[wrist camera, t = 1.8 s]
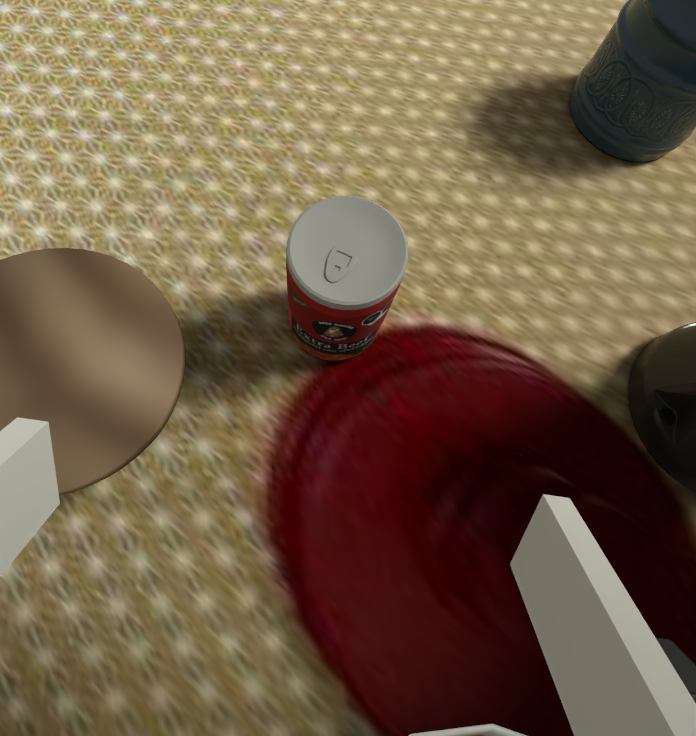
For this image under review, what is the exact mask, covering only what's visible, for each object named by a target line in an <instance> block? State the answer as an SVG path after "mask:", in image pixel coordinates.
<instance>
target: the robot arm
mask: <svg viewBox="0 0 696 736" xmlns="http://www.w3.org/2000/svg"><path fill="white" fill-rule="evenodd" d="M629 400H630V407H631V412H632V416H633V419H634V422H635V425H636V428H637V430H638V432H639V435H640V436H641V438H642V440H643V442H644V444H645V445H646V447H647V449H648V450H649V452H650V453H651V454H652V456H653V457H654V458H655V460H656V461H657V462H658V463H659V464H660V465H661V466H662V467H663V468H664V469H665V470H666V471H667V472H668V473H669V474H670V475H671V476H672V477H674V478H675V479H676V480H677V481H679V482H680V483H682V484H683V485H685V486H686V487H688V488H690V489H691V490H693V491H695V492H696V322H695V323H691V324H687V325H684V326H681V327H679V328H676V329H674V330H672V331H670V332H668V333H666V334H664V335H662V336H660V337H658V338H656V339H655V340H653V341H652V342H651V343H649V344H648V345H647V346H646V347H645V348H644V349H643V351H642V352H641V353H640V355H639V356H638V358H637V360H636V361H635V364H634V366H633V369H632V372H631V377H630V383H629ZM59 504H60V500H59V493H58V485H57V478H56V471H55V464H54V457H53V450H52V443H51V435H50V428H49V422H46V421H39V420H32V419H26V418H19V417H17V418H16V419H15V420H13V421H12V422H11V423H10V424H9V425H7V426H6V427H5V428H4V429H2V430H1V431H0V577H1V575H2V574H3V573H4V572H5V570H6V569H7V568H8V567H9V566H10V564H11V563H12V562H13V561H14V559H15V558H16V557H17V556H18V555H19V553H20V552H21V551H22V550H23V548H24V547H25V546H26V545H27V543H28V542H29V541H30V540H31V539H32V537H33V536H34V535H35V534H36V532H37V531H38V530H39V529H40V528H41V526H42V525H43V524H44V523H45V521H46V520H47V519H48V518H49V517H50V515H51V514H52V513H53V512H54V510H55V509H56V508H57V507H58V505H59ZM510 566H511V568H512V571H513V574H514V576H515V579H516V582H517V584H518V587H519V590H520V592H521V595H522V598H523V600H524V603H525V606H526V608H527V611H528V614H529V616H530V619H531V622H532V624H533V627H534V630H535V632H536V635H537V638H538V640H539V643H540V646H541V648H542V651H543V654H544V657H545V659H546V662H547V665H548V667H549V670H550V673H551V675H552V678H553V681H554V683H555V686H556V689H557V691H558V694H559V697H560V699H561V702H562V705H563V707H564V710H565V713H566V715H567V718H568V721H569V723H570V726H571V729H572V731H573V734H574V736H696V665H695V664H694V663H693V662H692V661H691V660H690V659H689V658H688V657H687V656H686V655H685V654H684V653H683V652H682V651H681V650H680V649H679V648H678V647H677V646H676V645H675V644H674V643H673V642H672V641H671V640H668V639H660V638H655V636H654V635H653V633H652V631H651V630H650V628H649V626H648V625H647V623H646V622H645V620H644V618H643V617H642V615H641V613H640V612H639V610H638V609H637V607H636V605H635V604H634V602H633V600H632V599H631V597H630V596H629V594H628V592H627V591H626V589H625V587H624V586H623V584H622V582H621V581H620V579H619V578H618V576H617V574H616V573H615V571H614V569H613V568H612V566H611V565H610V563H609V561H608V560H607V558H606V556H605V555H604V553H603V552H602V550H601V548H600V547H599V545H598V543H597V542H596V540H595V538H594V537H593V535H592V534H591V532H590V530H589V529H588V527H587V525H586V524H585V522H584V521H583V519H582V517H581V516H580V514H579V512H578V511H577V509H576V508H575V506H574V504H573V503H572V501H571V499H570V498H566V497H559V496H552V495H545V494H543V495H542V497H541V499H540V502H539V504H538V506H537V508H536V510H535V512H534V514H533V516H532V519H531V521H530V523H529V525H528V527H527V529H526V531H525V533H524V535H523V538H522V540H521V542H520V544H519V546H518V548H517V550H516V552H515V554H514V557H513V559H512V561H511V563H510Z"/></svg>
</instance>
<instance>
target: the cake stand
mask: <svg viewBox="0 0 696 736" xmlns="http://www.w3.org/2000/svg"><path fill="white" fill-rule="evenodd" d="M184 373H185V345H184V338H183V334H182V331H181V327H180V324H179V322H178V320H177V317H176V315H175V313H174V311H173V309H172V308H171V306H170V304H169V303H168V301H167V300H166V298H165V297H164V295H163V294H162V292H161V291H160V290H159V289H158V288H157V287H156V286H155V285H154V283H153V282H152V281H151V280H150V279H148V278H147V277H146V276H145V275H143V274H142V273H141V272H140V271H138V270H137V269H135V268H133V267H132V266H130V265H129V264H127V263H125V262H123V261H120V260H118V259H116V258H114V257H111V256H108V255H105V254H101V253H98V252H93V251H88V250H82V249H70V248H56V249H43V250H36V251H30V252H26V253H22V254H18V255H14V256H11V257H8V258H5V259H2V260H0V431H1V430H2V429H4V428H5V427H6V426H7V425H9V424H10V423H11V422H12V421H13V420H15V419H16V418H17V417H19V418H26V419H32V420H39V421H46V422H49V428H50V435H51V443H52V450H53V457H54V464H55V471H56V478H57V485H58V493H59V495H62V494H66V493H70V492H74V491H77V490H80V489H82V488H85V487H88V486H91V485H93V484H95V483H97V482H99V481H101V480H103V479H105V478H107V477H109V476H111V475H112V474H114V473H115V472H117V471H119V470H120V469H122V468H123V467H125V466H126V465H127V464H129V463H130V462H131V461H132V460H134V459H135V458H136V457H137V456H138V455H140V454H141V453H142V452H143V451H144V450H145V449H146V448H147V447H148V446H149V445H150V444H151V443H152V442H153V441H154V439H155V438H156V437H157V436H158V435H159V433H160V432H161V431H162V429H163V428H164V426H165V425H166V423H167V421H168V419H169V417H170V415H171V414H172V412H173V409H174V407H175V405H176V403H177V400H178V398H179V395H180V391H181V388H182V384H183V380H184Z"/></svg>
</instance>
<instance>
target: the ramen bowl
mask: <svg viewBox="0 0 696 736" xmlns="http://www.w3.org/2000/svg"><path fill="white" fill-rule="evenodd" d="M409 736H527V735H524V734H521V733H518V732H515V731H512V730H509V729H506V728H504V727H501V726H498V725H495V724H486V725H478V726H470V727H462V728H454V729H446V730H439V731H431V732H423V733H415V734H410V735H409Z"/></svg>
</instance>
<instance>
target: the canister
mask: <svg viewBox="0 0 696 736" xmlns="http://www.w3.org/2000/svg"><path fill="white" fill-rule="evenodd" d="M570 109H571V114H572V117H573V119H574V121H575V123H576V125H577V127H578V128H579V130H580V131H581V132H582V134H583V135H584V136H585V137H586V138H587V139H588V140H589V141H590V142H591V143H593V144H594V145H595V146H597V147H598V148H599V149H601V150H603V151H604V152H606V153H608V154H610V155H613V156H615V157H618V158H621V159H624V160H629V161H637V162H644V161H652V160H656V159H659V158H661V157H663V156H665V155H666V154H668V153H669V152H670V151H672V150H674V149H675V148H677V147H678V146H680V145H681V144H682V143H683V142H684V141H685V140H686V139H687V138H688V137H689V136H690V135H691V134H692V132H693V131H694V129H695V128H696V0H629V1H627V2H626V3H625V5H624V6H623V7H622V9H621V11H620V13H619V15H618V19H617V21H616V22H615V24H614V25H613V27H612V28H611V30H610V31H609V33H608V34H607V36H606V38H605V39H604V41H603V42H602V44H601V45H600V47H599V48H598V50H597V51H596V53H595V55H594V56H593V58H592V59H591V60H590V61H589V62H588V63H587V64H586V66H585V67H584V68H583V70H582V72H581V73H580V75H579V76H578V78H577V80H576V83H575V87H574V89H573V91H572V93H571V97H570Z"/></svg>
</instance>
